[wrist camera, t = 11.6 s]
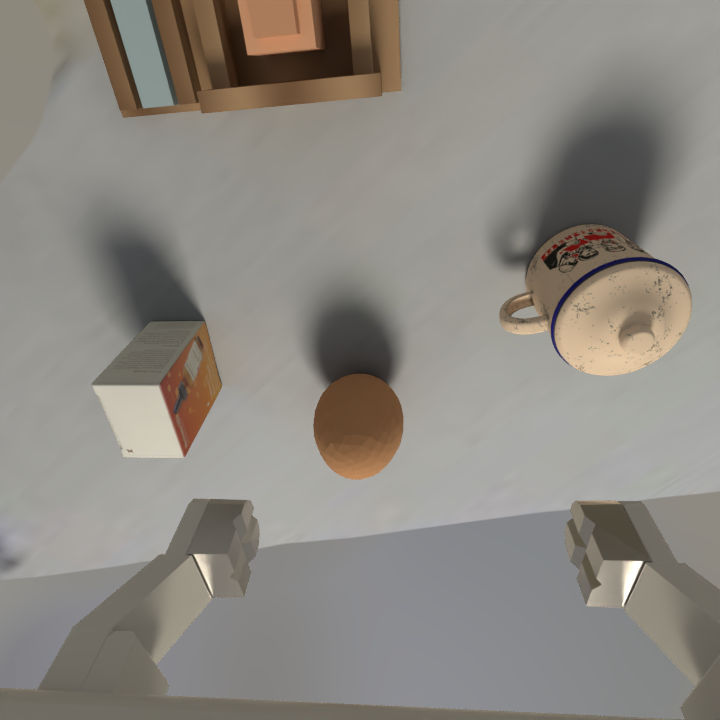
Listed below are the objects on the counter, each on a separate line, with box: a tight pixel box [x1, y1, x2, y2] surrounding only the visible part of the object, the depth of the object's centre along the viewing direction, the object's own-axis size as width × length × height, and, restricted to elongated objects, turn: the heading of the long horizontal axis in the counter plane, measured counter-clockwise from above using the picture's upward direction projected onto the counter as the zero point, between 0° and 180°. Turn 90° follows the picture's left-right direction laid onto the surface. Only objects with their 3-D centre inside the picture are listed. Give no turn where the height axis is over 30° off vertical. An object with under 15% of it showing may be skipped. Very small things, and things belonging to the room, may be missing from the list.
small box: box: [92, 321, 222, 458], centre depth 41 cm, size 8×6×10 cm
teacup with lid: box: [499, 224, 692, 375], centre depth 34 cm, size 12×9×12 cm
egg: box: [314, 374, 403, 479], centre depth 42 cm, size 8×8×11 cm
